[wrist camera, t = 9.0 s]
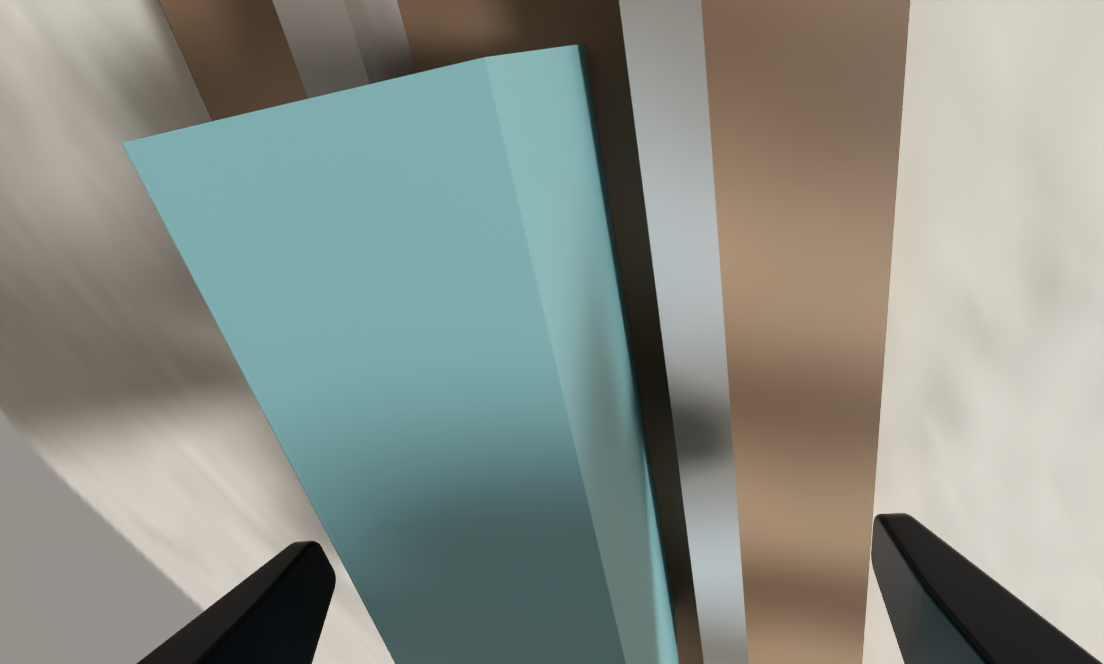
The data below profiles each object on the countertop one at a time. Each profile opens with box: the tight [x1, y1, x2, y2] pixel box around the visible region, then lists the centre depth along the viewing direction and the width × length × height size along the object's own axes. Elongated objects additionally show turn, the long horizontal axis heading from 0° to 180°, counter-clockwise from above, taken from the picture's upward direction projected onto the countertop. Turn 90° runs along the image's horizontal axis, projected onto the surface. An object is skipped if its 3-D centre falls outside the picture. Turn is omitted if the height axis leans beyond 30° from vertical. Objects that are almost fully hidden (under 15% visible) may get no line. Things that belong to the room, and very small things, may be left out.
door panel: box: [122, 44, 679, 664], centre depth 9 cm, size 14×2×7 cm, turn 12°
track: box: [159, 0, 910, 664], centre depth 12 cm, size 22×12×3 cm, turn 12°
